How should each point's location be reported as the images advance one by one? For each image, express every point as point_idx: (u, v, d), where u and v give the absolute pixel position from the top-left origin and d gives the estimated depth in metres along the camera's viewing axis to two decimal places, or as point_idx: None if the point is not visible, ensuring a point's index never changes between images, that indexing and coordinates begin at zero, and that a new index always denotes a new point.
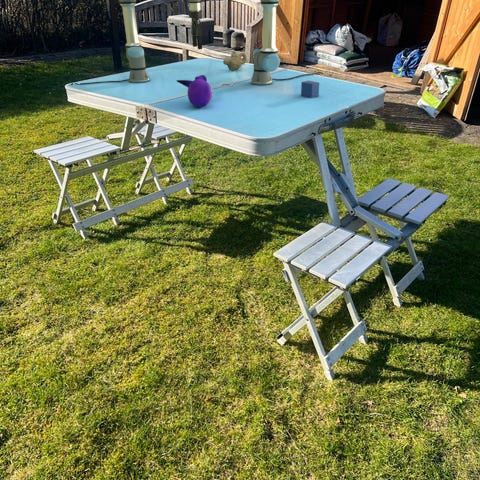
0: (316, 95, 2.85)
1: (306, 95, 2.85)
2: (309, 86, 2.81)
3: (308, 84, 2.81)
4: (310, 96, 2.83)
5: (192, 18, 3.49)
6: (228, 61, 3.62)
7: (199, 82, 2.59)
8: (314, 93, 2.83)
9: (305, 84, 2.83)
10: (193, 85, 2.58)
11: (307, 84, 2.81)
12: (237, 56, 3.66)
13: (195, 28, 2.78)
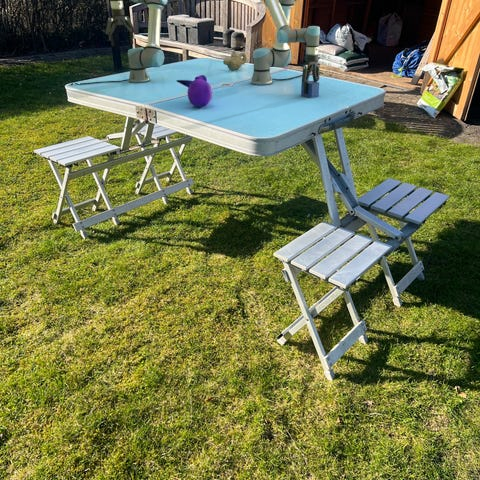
0: (316, 95, 2.85)
1: (306, 95, 2.85)
2: (309, 86, 2.81)
3: (308, 84, 2.81)
4: (310, 96, 2.83)
5: (129, 24, 2.91)
6: (228, 61, 3.62)
7: (199, 82, 2.59)
8: (314, 93, 2.83)
9: None
10: (193, 85, 2.58)
11: None
12: (237, 56, 3.66)
13: (314, 71, 2.80)
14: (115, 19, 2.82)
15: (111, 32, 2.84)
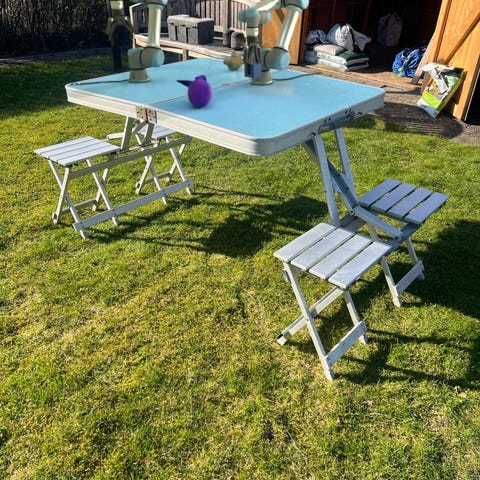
0: (259, 75, 2.92)
1: (249, 76, 2.93)
2: (251, 67, 2.88)
3: (250, 65, 2.88)
4: (253, 77, 2.91)
5: (129, 24, 2.91)
6: (228, 61, 3.62)
7: (199, 82, 2.59)
8: (257, 73, 2.91)
9: None
10: (193, 85, 2.58)
11: None
12: (237, 56, 3.66)
13: (256, 52, 2.88)
14: (115, 19, 2.82)
15: (111, 32, 2.84)
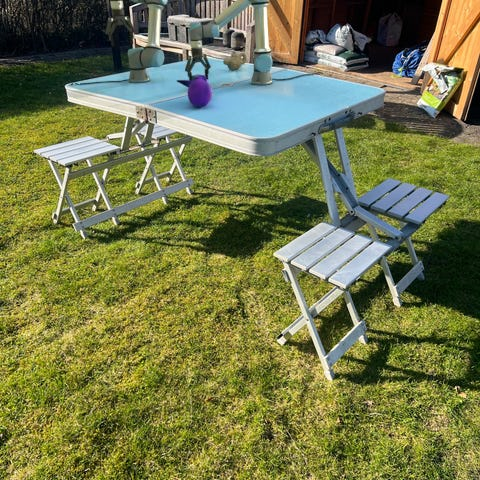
0: None
1: None
2: None
3: None
4: None
5: (129, 24, 2.91)
6: (228, 61, 3.62)
7: (199, 82, 2.59)
8: None
9: (193, 77, 3.08)
10: (193, 85, 2.58)
11: None
12: (237, 56, 3.66)
13: (202, 62, 3.05)
14: (115, 19, 2.82)
15: (111, 32, 2.84)
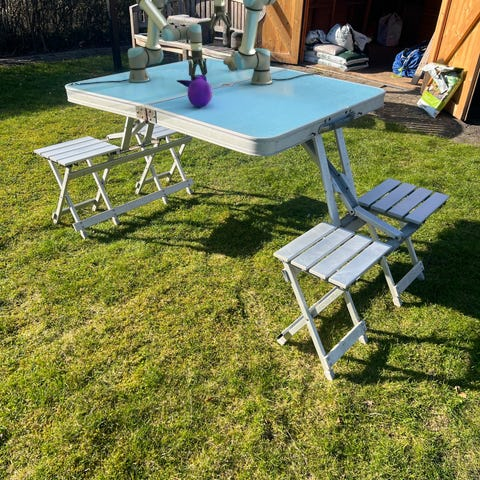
0: None
1: None
2: None
3: None
4: None
5: (203, 65, 3.09)
6: (228, 61, 3.62)
7: (199, 82, 2.59)
8: None
9: None
10: (193, 85, 2.58)
11: None
12: None
13: (224, 20, 3.26)
14: (194, 60, 3.01)
15: (194, 74, 3.04)
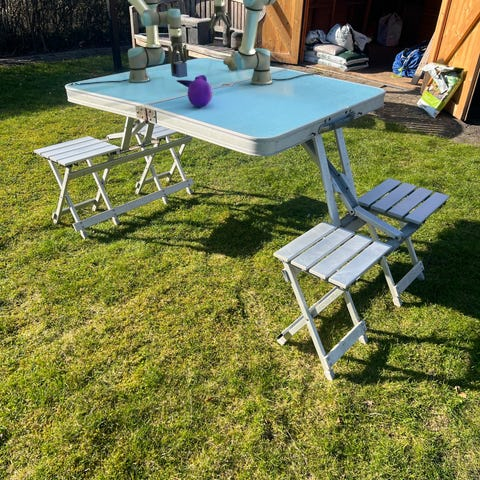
0: (184, 75, 3.00)
1: (175, 75, 3.00)
2: (176, 66, 2.96)
3: (175, 64, 2.96)
4: (178, 76, 2.98)
5: (183, 52, 2.99)
6: (228, 61, 3.62)
7: (199, 82, 2.59)
8: (182, 73, 2.98)
9: None
10: (193, 85, 2.58)
11: None
12: None
13: (224, 20, 3.26)
14: (174, 46, 2.91)
15: (173, 60, 2.94)
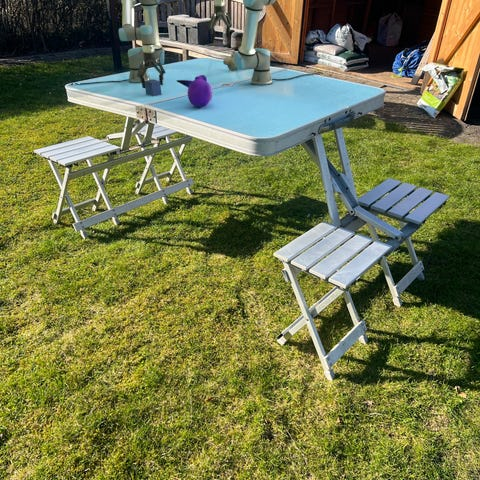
0: (158, 93, 2.97)
1: (149, 93, 2.98)
2: (149, 85, 2.93)
3: (149, 83, 2.93)
4: (152, 94, 2.95)
5: (159, 66, 2.96)
6: (228, 61, 3.62)
7: (199, 82, 2.59)
8: (156, 91, 2.96)
9: (147, 83, 2.95)
10: (193, 85, 2.58)
11: (148, 83, 2.94)
12: None
13: (224, 20, 3.26)
14: (146, 62, 2.88)
15: (142, 75, 2.89)
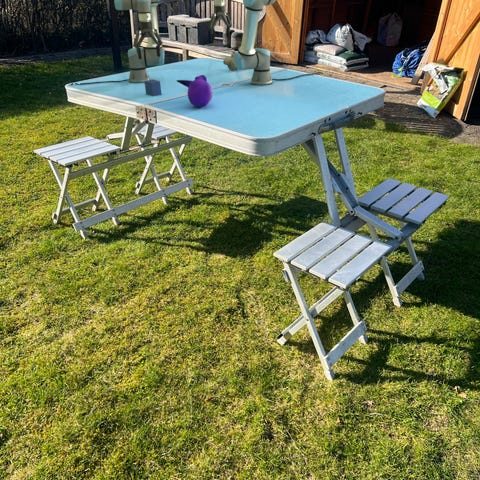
0: (158, 93, 2.97)
1: (149, 93, 2.98)
2: (149, 85, 2.93)
3: (149, 83, 2.93)
4: (152, 94, 2.95)
5: (156, 37, 2.87)
6: (228, 61, 3.62)
7: (199, 82, 2.59)
8: (156, 91, 2.96)
9: (147, 83, 2.95)
10: (193, 85, 2.58)
11: (148, 83, 2.94)
12: None
13: (224, 20, 3.26)
14: (143, 32, 2.79)
15: (139, 45, 2.80)
